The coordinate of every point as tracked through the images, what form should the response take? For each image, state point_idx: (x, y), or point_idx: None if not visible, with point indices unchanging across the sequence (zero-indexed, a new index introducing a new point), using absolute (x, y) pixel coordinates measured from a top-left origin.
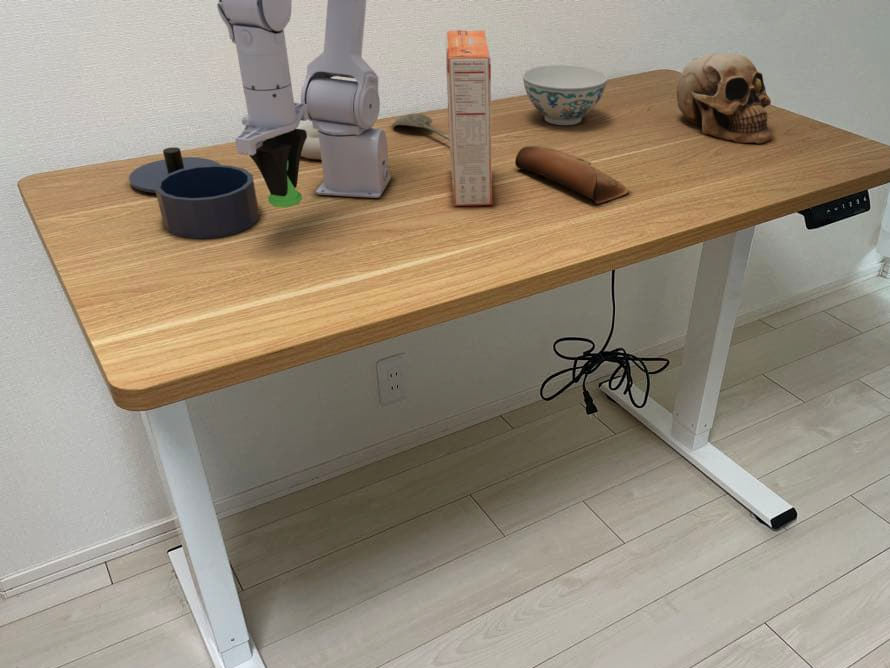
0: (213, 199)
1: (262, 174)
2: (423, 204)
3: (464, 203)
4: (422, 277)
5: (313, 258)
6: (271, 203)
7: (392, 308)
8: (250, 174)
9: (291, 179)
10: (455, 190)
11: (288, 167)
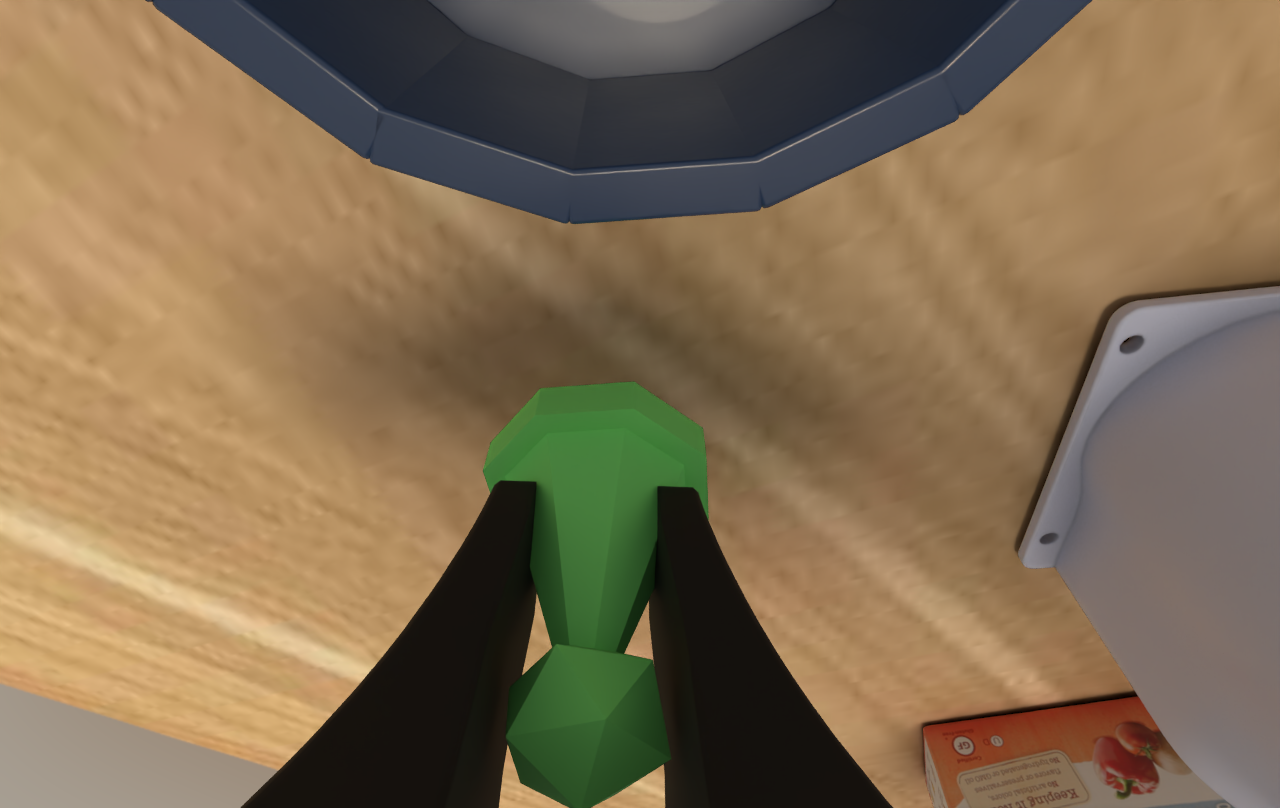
0: (162, 6)
1: (418, 615)
2: (949, 665)
3: (925, 751)
4: None
5: (380, 526)
6: (513, 422)
7: (232, 743)
8: (976, 88)
9: (652, 611)
10: (942, 789)
11: (668, 689)
